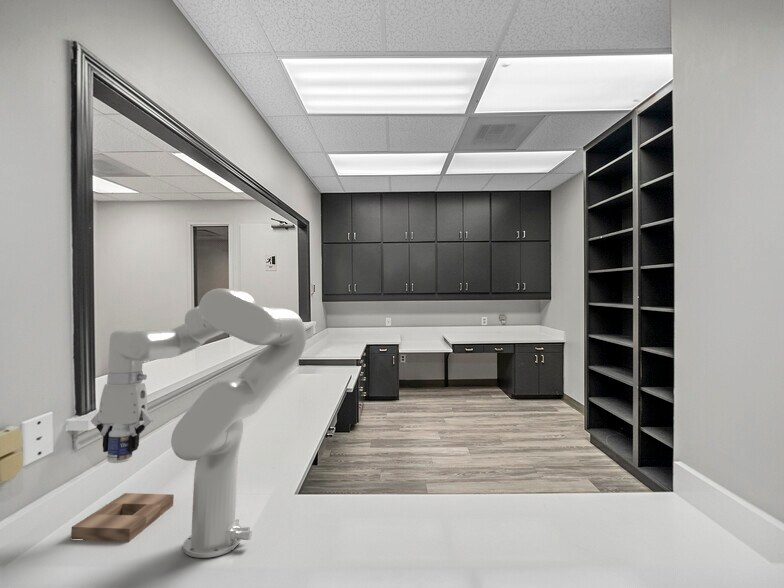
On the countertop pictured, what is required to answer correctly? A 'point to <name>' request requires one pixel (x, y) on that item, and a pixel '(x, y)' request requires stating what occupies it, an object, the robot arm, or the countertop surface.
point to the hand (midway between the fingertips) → (120, 450)
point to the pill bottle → (119, 444)
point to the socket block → (123, 517)
